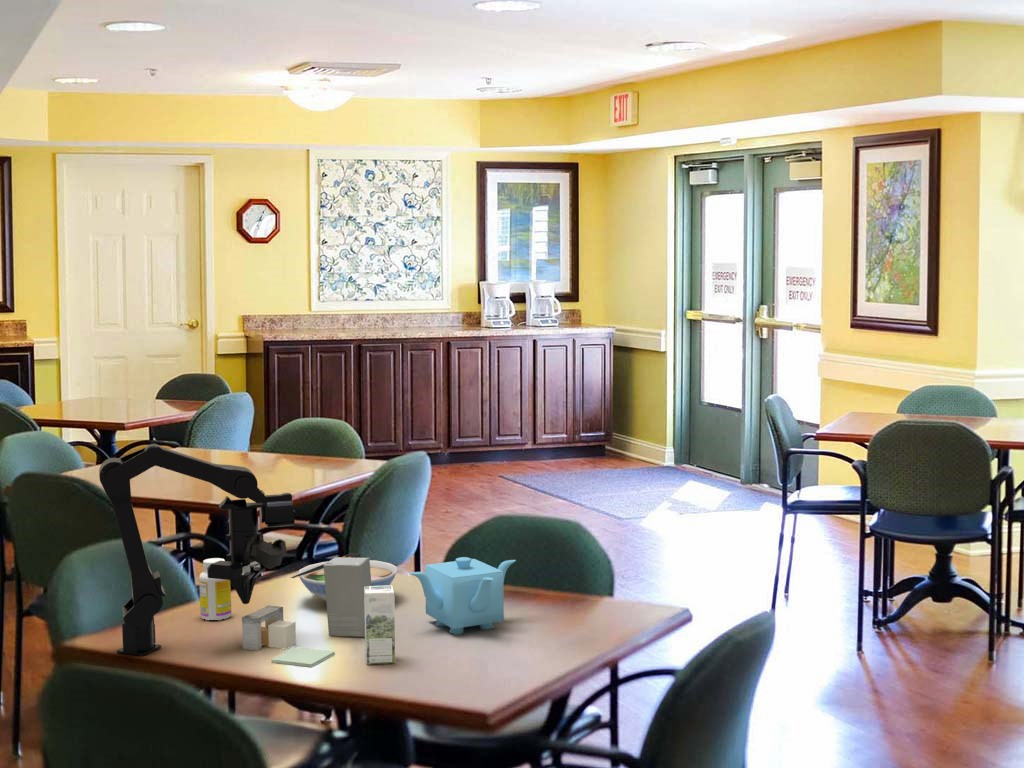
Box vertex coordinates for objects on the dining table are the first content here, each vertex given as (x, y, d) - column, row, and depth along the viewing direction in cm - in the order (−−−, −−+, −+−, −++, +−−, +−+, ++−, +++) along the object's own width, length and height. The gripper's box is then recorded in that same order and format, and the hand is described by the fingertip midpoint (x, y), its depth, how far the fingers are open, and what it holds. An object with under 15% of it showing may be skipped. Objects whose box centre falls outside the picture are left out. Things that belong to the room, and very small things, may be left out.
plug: (285, 648, 279) (285, 627, 279) (243, 644, 283) (242, 622, 283) (296, 643, 283) (295, 622, 283) (254, 638, 287) (253, 617, 286)
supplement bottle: (235, 613, 307) (233, 557, 306) (226, 621, 300) (224, 563, 299) (206, 613, 307) (204, 556, 306) (196, 621, 301) (194, 563, 300)
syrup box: (394, 655, 274) (392, 583, 273) (395, 664, 268) (394, 590, 267) (365, 656, 273) (363, 585, 272) (366, 665, 267) (364, 592, 266)
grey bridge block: (257, 650, 278) (256, 618, 278) (242, 648, 280) (241, 617, 279) (283, 637, 288) (283, 606, 287) (269, 635, 289) (268, 605, 288)
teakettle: (439, 612, 306) (438, 547, 305) (520, 617, 301) (519, 551, 299) (408, 635, 288) (406, 566, 287) (493, 641, 283) (492, 571, 282)
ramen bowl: (356, 621, 300) (355, 584, 299) (274, 608, 311) (273, 572, 310) (420, 595, 321) (420, 561, 320) (341, 584, 333) (341, 551, 332)
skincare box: (375, 630, 292) (373, 556, 291) (362, 639, 286) (360, 564, 284) (337, 627, 295) (336, 554, 293) (324, 636, 288) (322, 562, 286)
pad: (311, 667, 267) (311, 664, 267) (271, 662, 270) (271, 659, 270) (334, 654, 275) (334, 651, 275) (295, 649, 278) (295, 646, 278)
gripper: (252, 541, 271) (254, 618, 273) (301, 523, 289) (303, 596, 290) (204, 537, 276) (207, 613, 277) (255, 519, 293) (257, 591, 294)
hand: (246, 603), depth 284 cm, fingers closed
